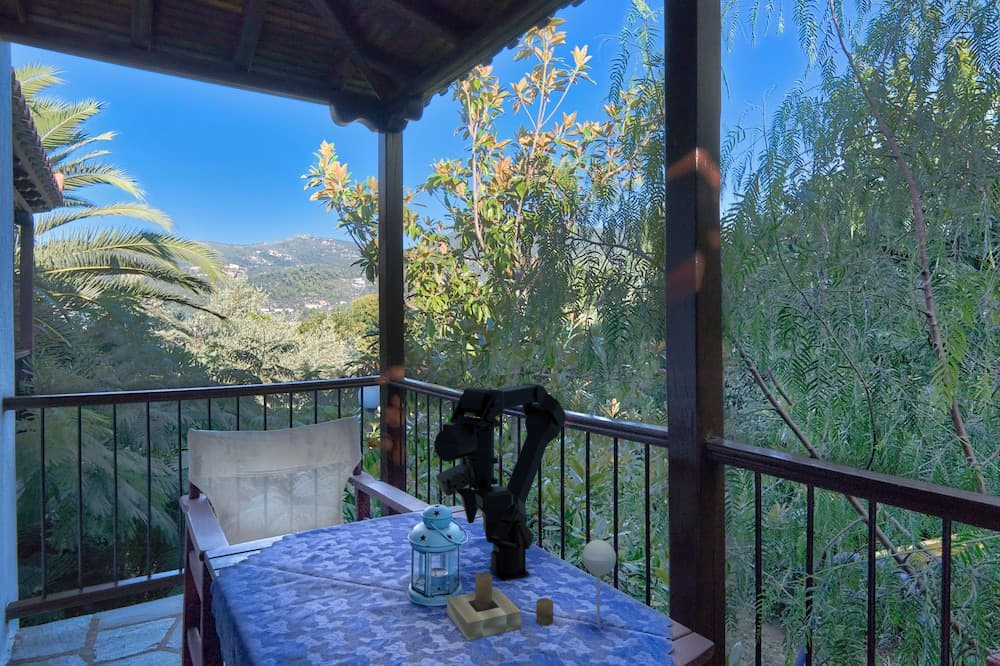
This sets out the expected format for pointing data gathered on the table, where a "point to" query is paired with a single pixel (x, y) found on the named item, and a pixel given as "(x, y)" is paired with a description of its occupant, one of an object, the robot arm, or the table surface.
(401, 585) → the table surface
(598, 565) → the lollipop
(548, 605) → the short pin
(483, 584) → the long pin
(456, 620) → the bored block
